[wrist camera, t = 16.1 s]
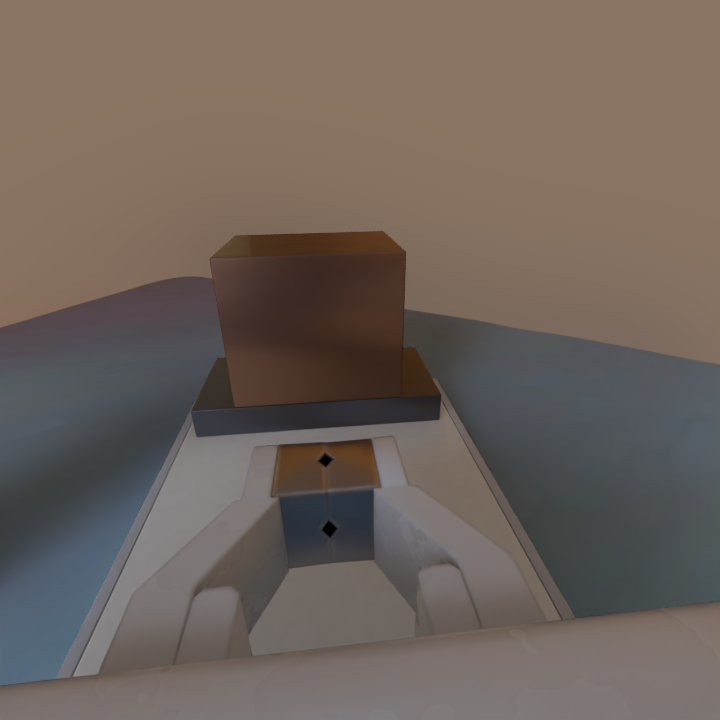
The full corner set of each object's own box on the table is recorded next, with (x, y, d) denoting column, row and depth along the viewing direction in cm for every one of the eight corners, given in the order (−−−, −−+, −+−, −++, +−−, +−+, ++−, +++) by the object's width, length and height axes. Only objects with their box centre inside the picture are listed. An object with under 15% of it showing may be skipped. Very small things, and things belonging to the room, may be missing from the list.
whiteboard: (434, 392, 26) (436, 377, 25) (783, 1033, 7) (810, 1018, 6) (202, 407, 24) (199, 392, 24) (-185, 1244, 5) (-231, 1244, 5)
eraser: (413, 368, 26) (420, 229, 23) (439, 420, 21) (453, 249, 17) (220, 380, 25) (195, 236, 22) (195, 437, 20) (156, 259, 16)
